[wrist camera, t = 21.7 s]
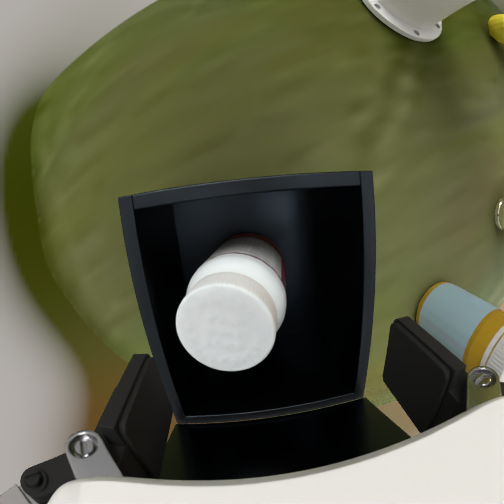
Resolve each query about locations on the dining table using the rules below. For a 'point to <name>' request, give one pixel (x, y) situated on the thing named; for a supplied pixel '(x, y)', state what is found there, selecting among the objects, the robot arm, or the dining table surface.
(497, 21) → the lemon
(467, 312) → the bottle
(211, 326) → the pill bottle
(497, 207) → the cup with straw
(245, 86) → the dining table surface
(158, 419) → the robot arm
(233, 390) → the waste bin
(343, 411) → the bin lid
